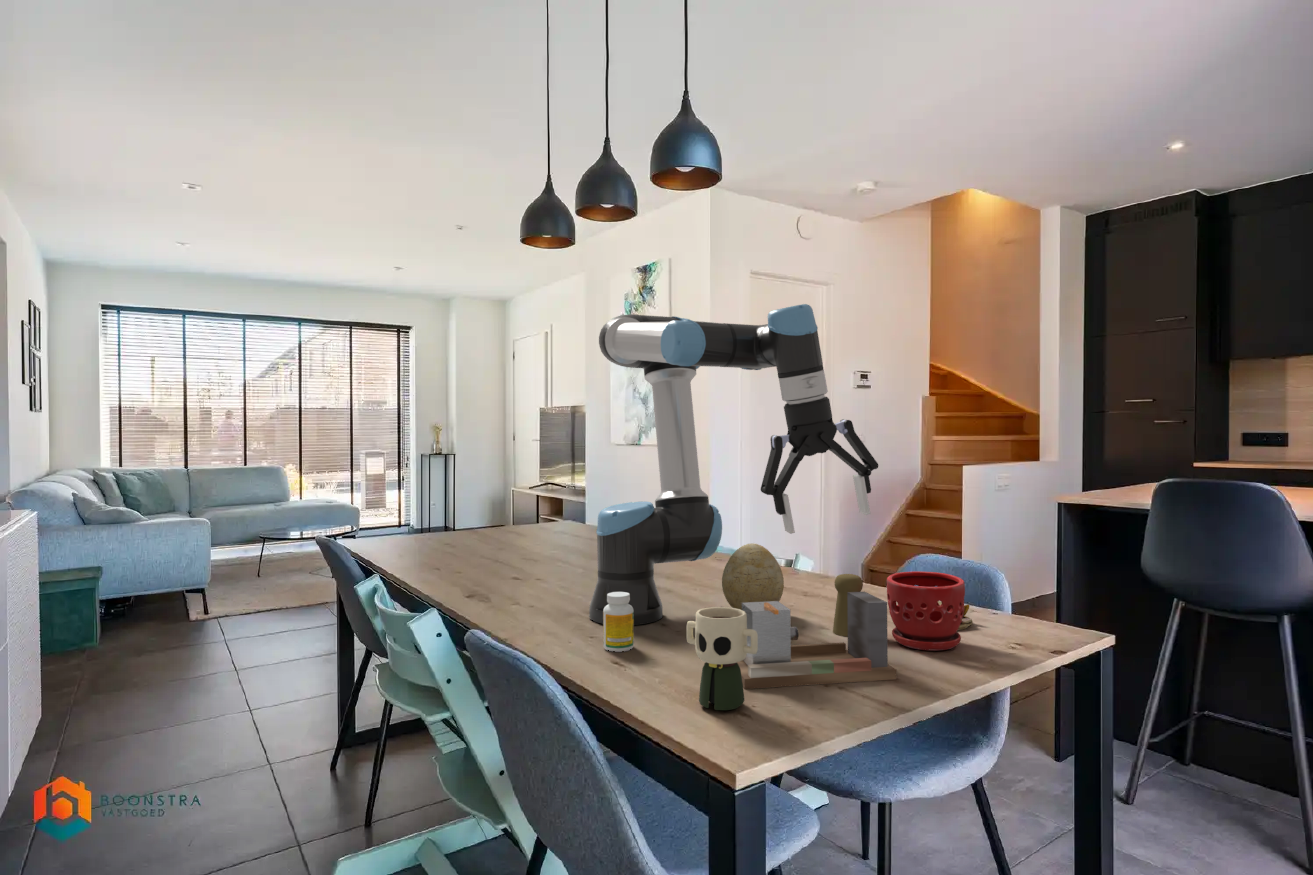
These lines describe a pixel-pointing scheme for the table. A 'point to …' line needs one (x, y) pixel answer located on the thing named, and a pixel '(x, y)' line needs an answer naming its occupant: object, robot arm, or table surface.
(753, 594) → the fossilized egg
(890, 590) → the plant pot
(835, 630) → the olive knobbed pawn
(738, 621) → the character mug
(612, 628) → the supplement bottle
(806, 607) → the table surface
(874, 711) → the table surface
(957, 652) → the table surface
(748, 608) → the grey cube with stick
